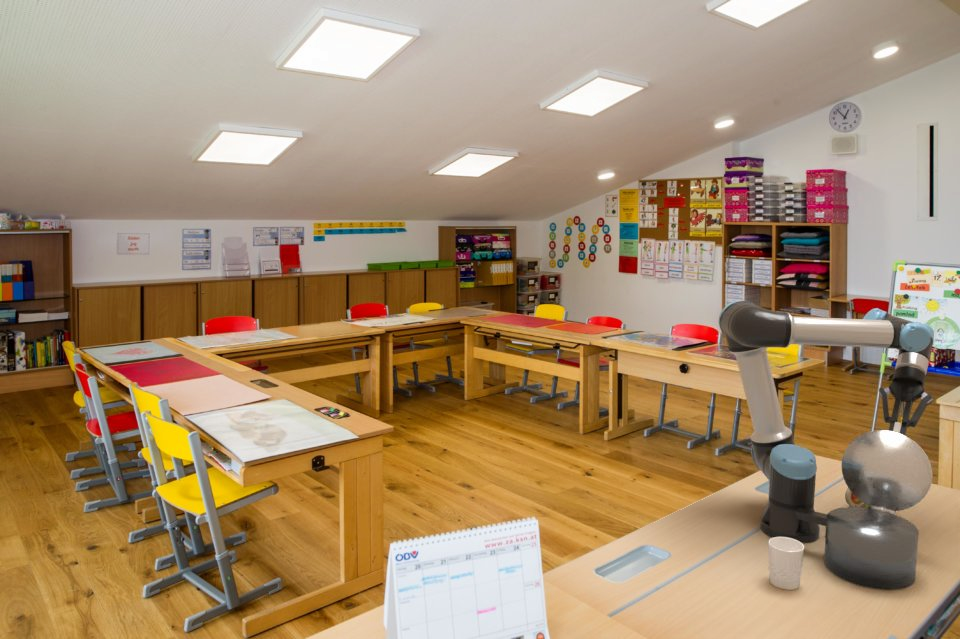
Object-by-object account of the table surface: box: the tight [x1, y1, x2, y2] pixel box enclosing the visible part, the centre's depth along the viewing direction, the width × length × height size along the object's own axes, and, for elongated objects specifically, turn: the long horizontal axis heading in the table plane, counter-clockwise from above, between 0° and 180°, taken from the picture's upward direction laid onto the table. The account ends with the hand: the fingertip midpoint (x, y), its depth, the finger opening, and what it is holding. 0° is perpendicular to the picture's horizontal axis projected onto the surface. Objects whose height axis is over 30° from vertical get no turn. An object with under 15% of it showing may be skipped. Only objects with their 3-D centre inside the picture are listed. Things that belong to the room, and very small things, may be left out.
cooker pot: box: [795, 506, 920, 591], centre depth 179 cm, size 28×20×12 cm
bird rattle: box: [844, 487, 868, 508], centre depth 213 cm, size 6×11×9 cm
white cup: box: [768, 537, 805, 591], centre depth 171 cm, size 8×8×10 cm
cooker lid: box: [841, 429, 933, 515], centre depth 185 cm, size 21×21×4 cm
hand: (894, 445), depth 187 cm, fingers closed
